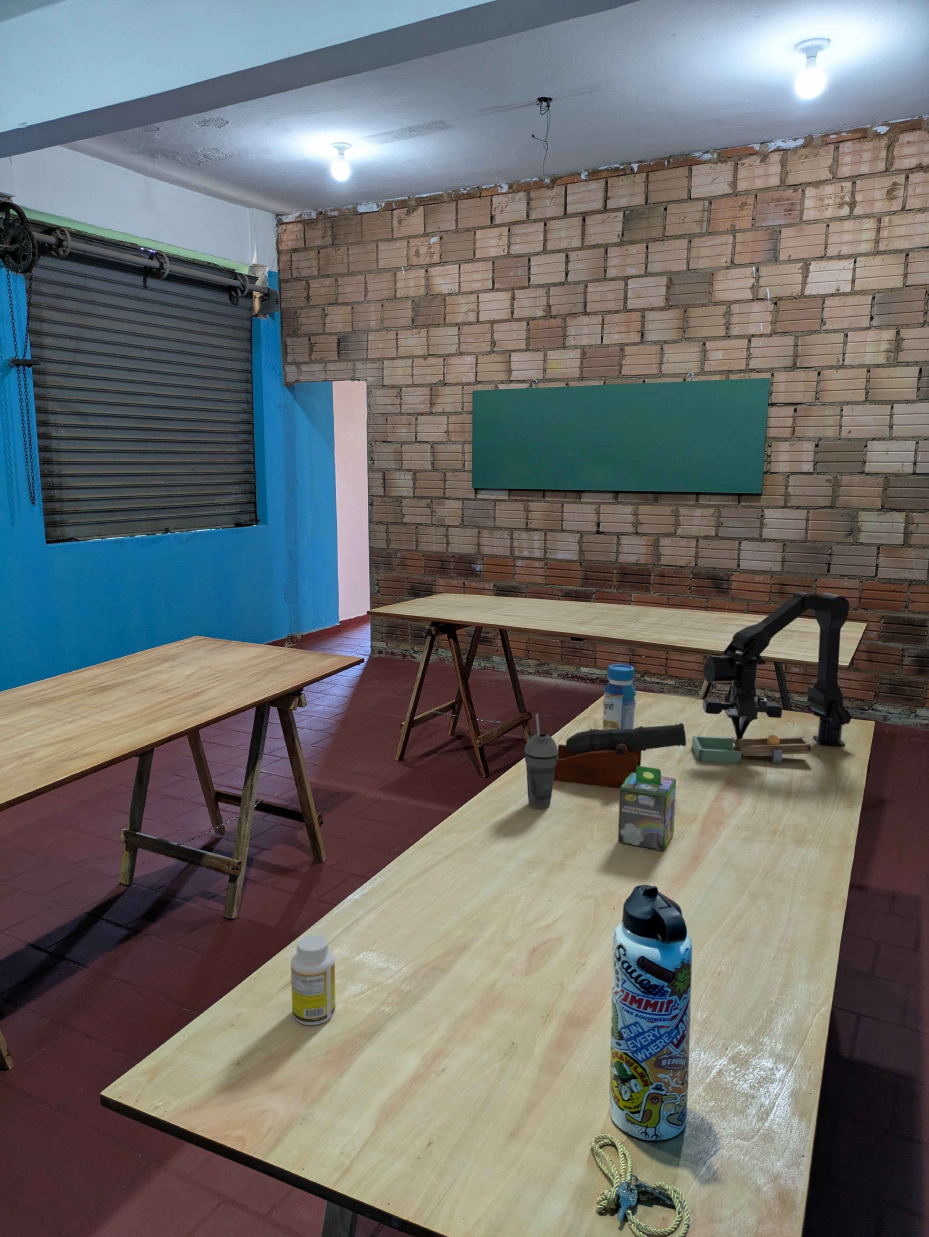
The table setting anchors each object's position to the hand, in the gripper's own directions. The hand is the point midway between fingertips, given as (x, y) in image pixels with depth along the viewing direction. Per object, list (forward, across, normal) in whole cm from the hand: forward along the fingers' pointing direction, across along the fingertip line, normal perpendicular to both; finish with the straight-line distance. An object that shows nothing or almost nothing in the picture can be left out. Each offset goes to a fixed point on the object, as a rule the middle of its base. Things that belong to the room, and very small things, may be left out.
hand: (738, 739), depth 218 cm
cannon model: (+3, -32, -28) cm, 43 cm away
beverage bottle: (+3, -31, 0) cm, 31 cm away
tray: (+2, -7, -6) cm, 10 cm away
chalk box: (+3, -29, -58) cm, 65 cm away
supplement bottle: (+3, -77, -120) cm, 142 cm away
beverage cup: (+3, -50, -46) cm, 67 cm away
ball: (-2, +7, -6) cm, 10 cm away
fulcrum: (+2, +7, -6) cm, 10 cm away
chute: (0, +7, -3) cm, 8 cm away
